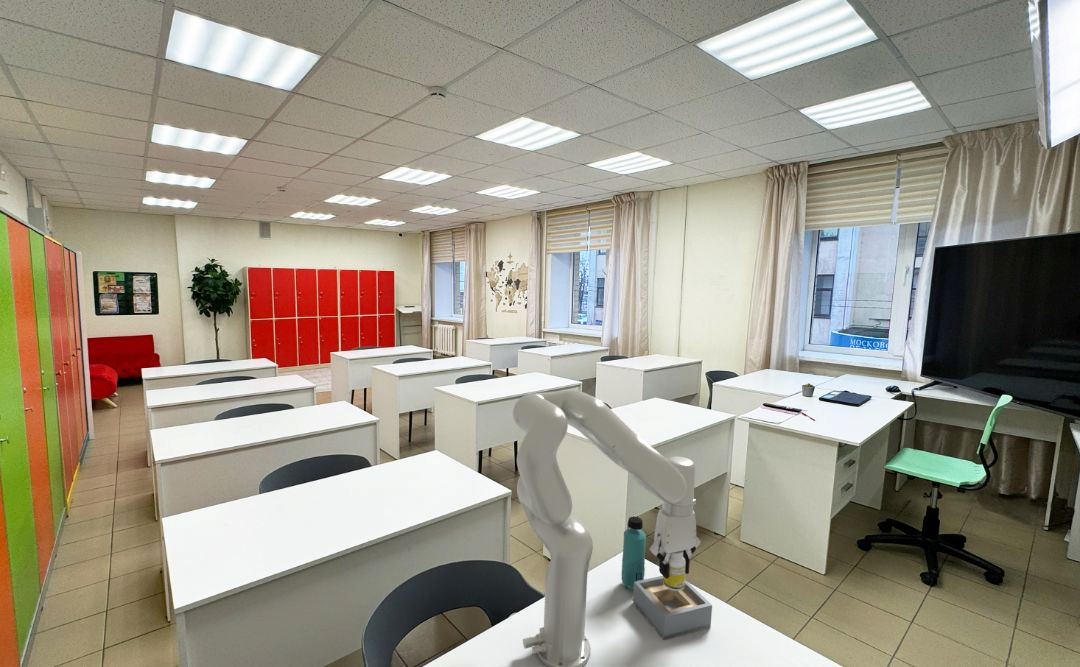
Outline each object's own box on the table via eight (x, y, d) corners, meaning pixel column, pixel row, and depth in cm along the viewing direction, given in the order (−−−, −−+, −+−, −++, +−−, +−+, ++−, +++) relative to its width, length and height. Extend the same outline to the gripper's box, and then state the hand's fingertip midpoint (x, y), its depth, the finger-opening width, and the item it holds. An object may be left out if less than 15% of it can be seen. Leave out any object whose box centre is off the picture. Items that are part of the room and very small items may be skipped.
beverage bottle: (634, 596, 127) (638, 527, 125) (615, 584, 132) (619, 518, 130) (648, 587, 131) (652, 520, 129) (629, 576, 136) (633, 511, 134)
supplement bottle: (665, 576, 123) (667, 541, 122) (686, 582, 121) (688, 547, 120) (660, 587, 119) (662, 551, 118) (682, 594, 116) (684, 557, 115)
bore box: (663, 640, 111) (665, 616, 111) (632, 602, 124) (634, 581, 124) (710, 627, 116) (712, 605, 116) (676, 592, 129) (677, 572, 129)
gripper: (695, 495, 124) (691, 559, 126) (640, 504, 118) (637, 571, 120) (715, 508, 117) (710, 575, 119) (657, 518, 111) (654, 588, 113)
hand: (674, 572), depth 119 cm, fingers closed on supplement bottle, 5 cm apart
